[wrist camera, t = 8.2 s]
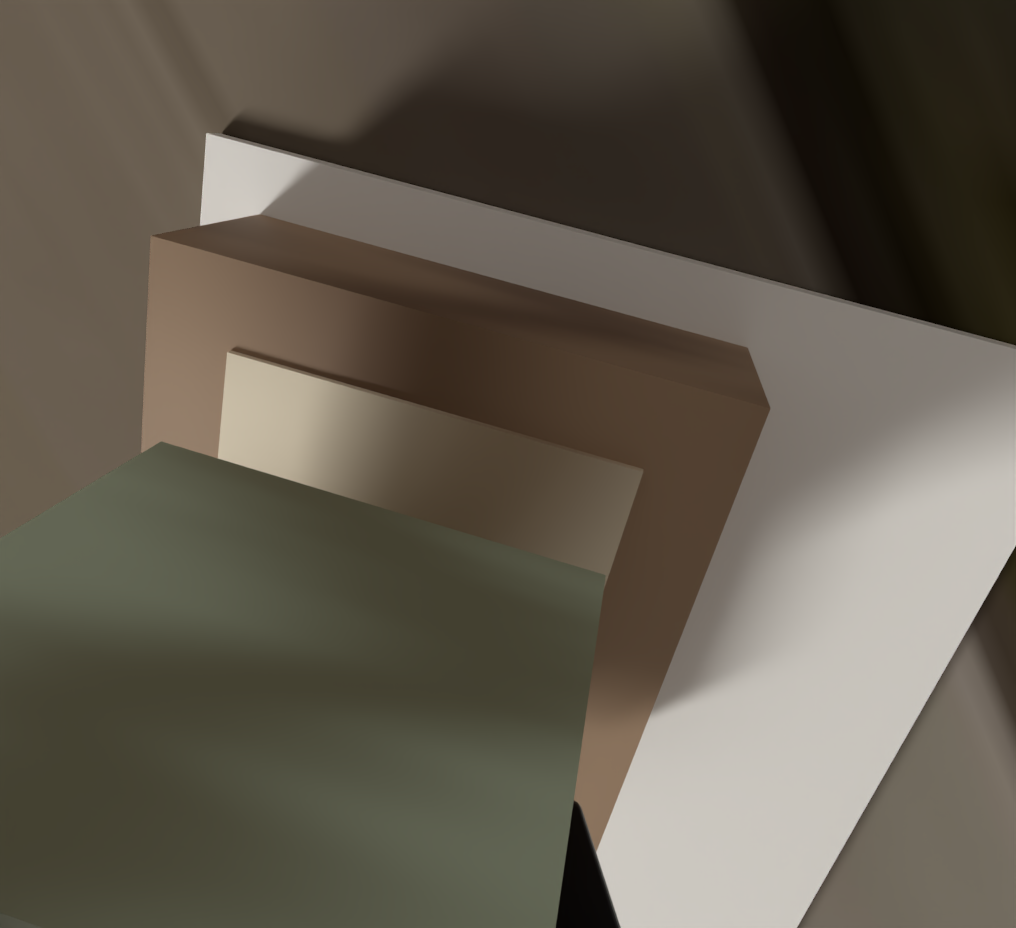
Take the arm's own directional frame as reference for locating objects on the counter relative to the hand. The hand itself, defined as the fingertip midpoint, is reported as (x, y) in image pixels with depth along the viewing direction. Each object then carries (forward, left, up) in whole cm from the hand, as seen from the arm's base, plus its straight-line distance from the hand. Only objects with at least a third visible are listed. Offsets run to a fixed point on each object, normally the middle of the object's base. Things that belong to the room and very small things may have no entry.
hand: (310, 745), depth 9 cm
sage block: (0, 0, -1) cm, 1 cm away
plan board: (-2, +2, -7) cm, 7 cm away
